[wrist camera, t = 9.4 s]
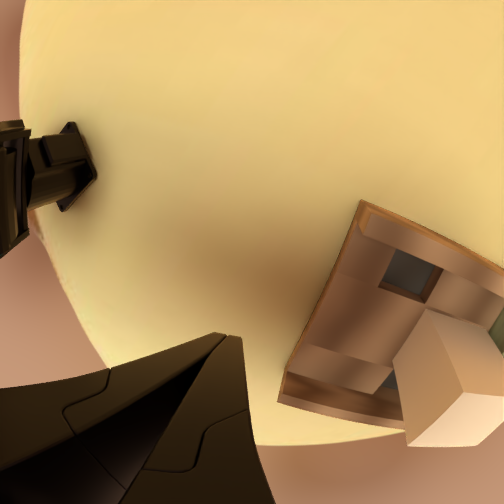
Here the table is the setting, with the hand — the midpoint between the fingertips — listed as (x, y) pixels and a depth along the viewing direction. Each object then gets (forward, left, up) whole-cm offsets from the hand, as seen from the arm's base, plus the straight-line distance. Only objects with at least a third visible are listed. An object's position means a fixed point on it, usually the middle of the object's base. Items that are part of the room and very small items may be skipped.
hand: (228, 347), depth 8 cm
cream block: (+8, -13, -10) cm, 18 cm away
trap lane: (+6, -11, -12) cm, 17 cm away
